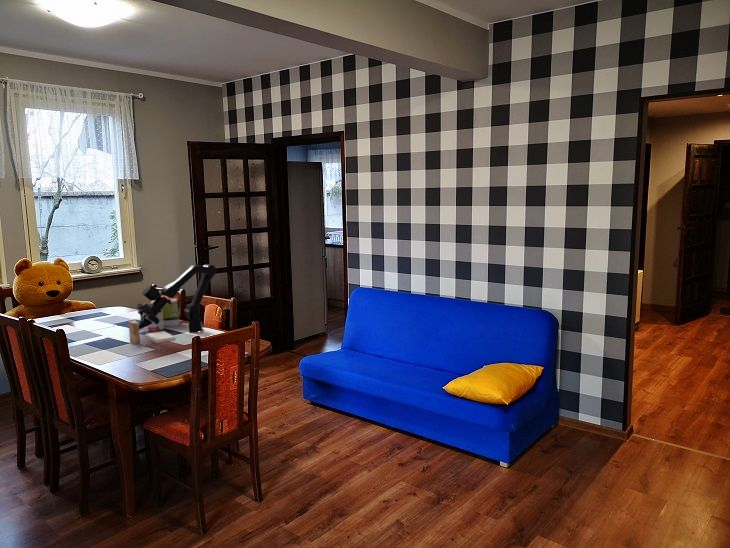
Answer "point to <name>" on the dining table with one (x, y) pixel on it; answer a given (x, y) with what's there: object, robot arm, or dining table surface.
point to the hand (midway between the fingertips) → (137, 329)
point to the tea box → (170, 313)
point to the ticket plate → (160, 336)
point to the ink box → (158, 326)
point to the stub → (134, 332)
